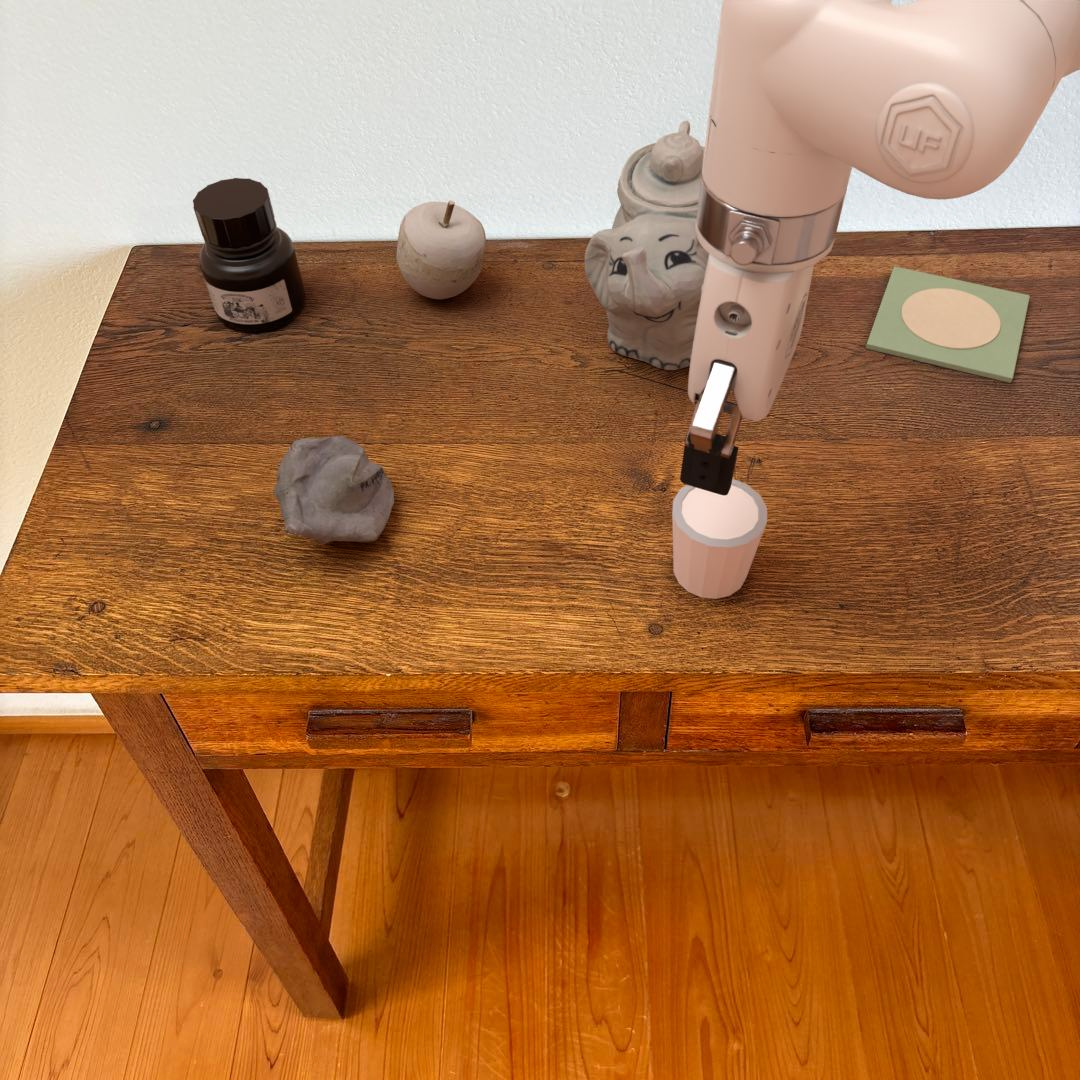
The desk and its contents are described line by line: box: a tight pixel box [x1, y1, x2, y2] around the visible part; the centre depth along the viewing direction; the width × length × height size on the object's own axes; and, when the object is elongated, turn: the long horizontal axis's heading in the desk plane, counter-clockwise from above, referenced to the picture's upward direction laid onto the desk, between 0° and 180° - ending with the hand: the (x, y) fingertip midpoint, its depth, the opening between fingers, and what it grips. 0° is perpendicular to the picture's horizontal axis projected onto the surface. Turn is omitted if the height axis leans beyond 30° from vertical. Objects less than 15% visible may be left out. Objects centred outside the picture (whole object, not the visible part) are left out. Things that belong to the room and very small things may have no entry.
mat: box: [865, 265, 1031, 384], centre depth 96 cm, size 13×13×1 cm
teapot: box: [584, 120, 709, 371], centre depth 89 cm, size 16×15×19 cm
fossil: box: [273, 435, 395, 545], centre depth 79 cm, size 11×9×8 cm
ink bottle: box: [192, 177, 306, 332], centre depth 96 cm, size 10×9×12 cm
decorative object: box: [395, 200, 487, 300], centre depth 98 cm, size 9×9×10 cm
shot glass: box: [671, 478, 768, 600], centre depth 76 cm, size 7×7×7 cm
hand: (726, 436), depth 67 cm, fingers open, 9 cm apart
